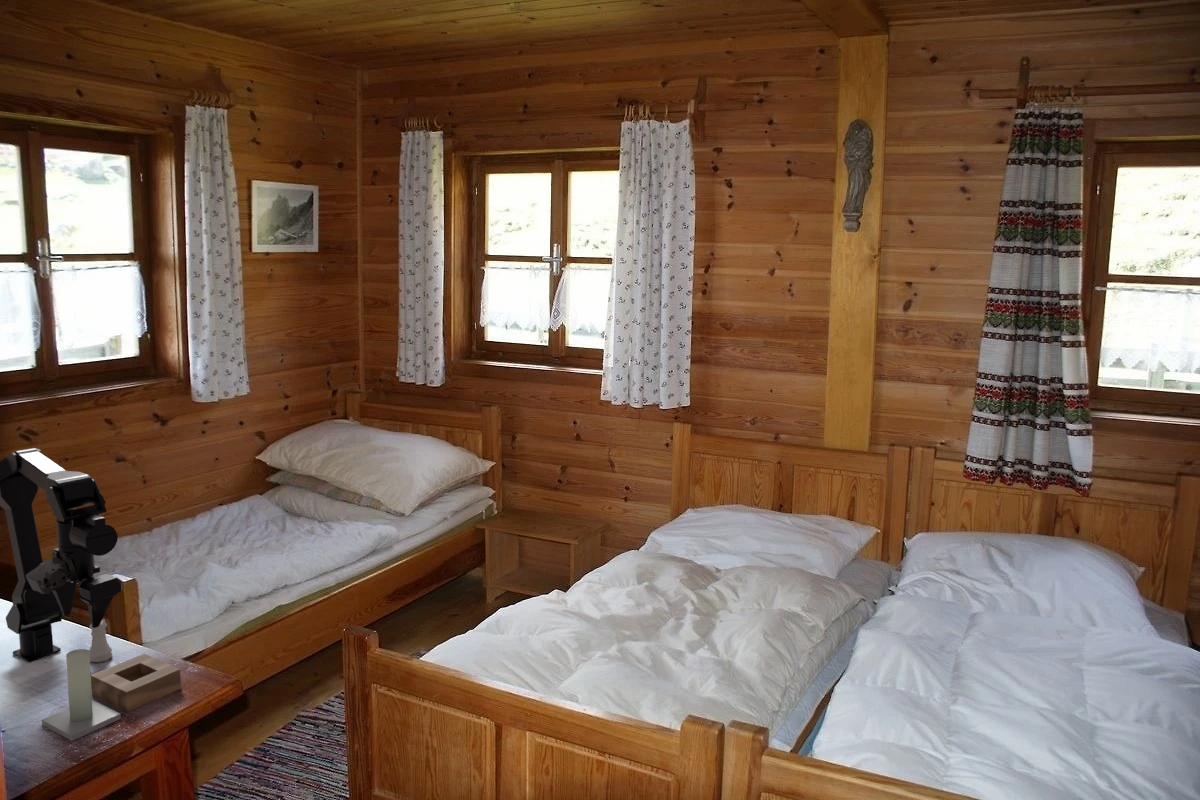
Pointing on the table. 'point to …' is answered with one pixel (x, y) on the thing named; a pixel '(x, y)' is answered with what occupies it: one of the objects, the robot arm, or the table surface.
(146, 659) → the walnut pocket block
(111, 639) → the table surface
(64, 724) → the slate tile
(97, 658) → the rook chess piece
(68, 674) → the sage peg
